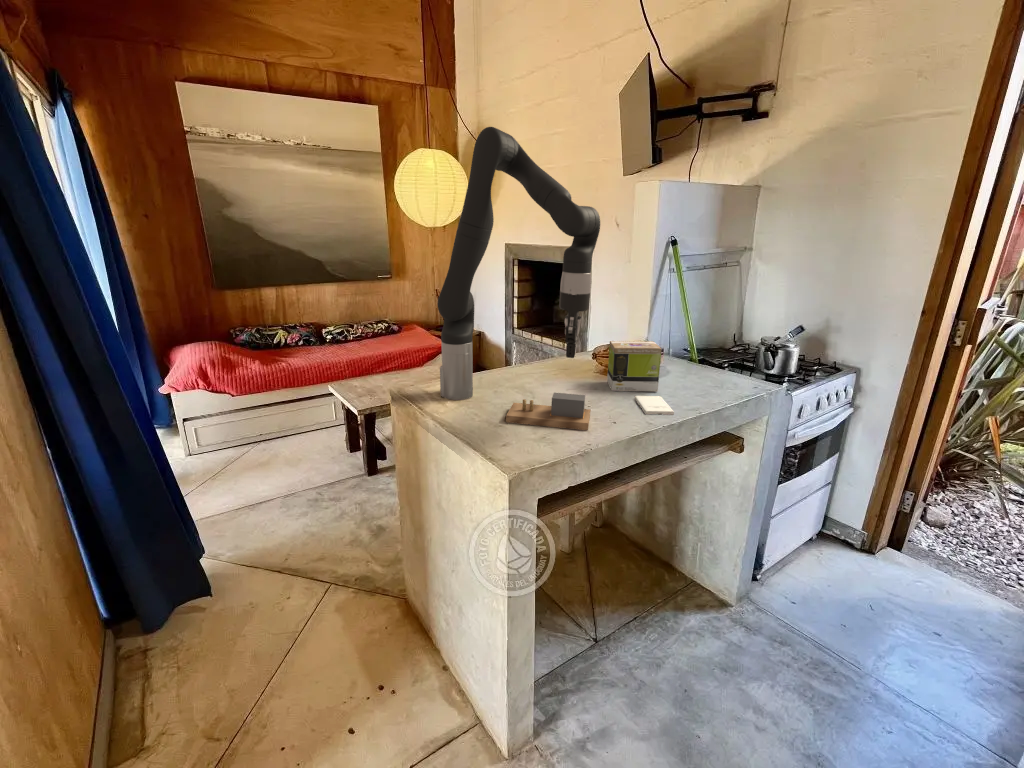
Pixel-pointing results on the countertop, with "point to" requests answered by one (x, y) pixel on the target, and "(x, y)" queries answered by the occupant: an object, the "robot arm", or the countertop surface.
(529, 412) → the board
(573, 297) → the robot arm
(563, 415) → the block
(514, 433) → the countertop surface
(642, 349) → the tea box
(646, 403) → the external hard drive
